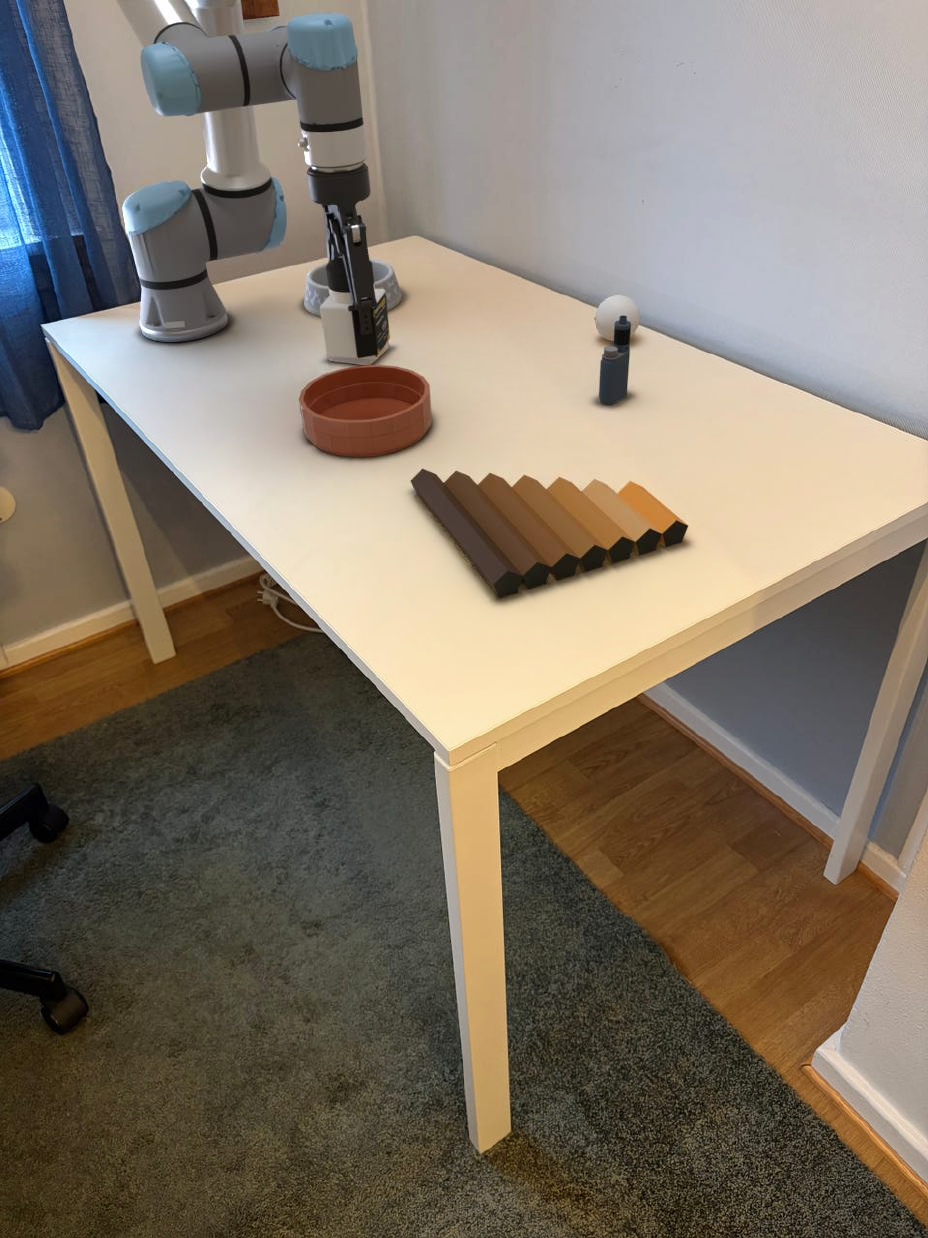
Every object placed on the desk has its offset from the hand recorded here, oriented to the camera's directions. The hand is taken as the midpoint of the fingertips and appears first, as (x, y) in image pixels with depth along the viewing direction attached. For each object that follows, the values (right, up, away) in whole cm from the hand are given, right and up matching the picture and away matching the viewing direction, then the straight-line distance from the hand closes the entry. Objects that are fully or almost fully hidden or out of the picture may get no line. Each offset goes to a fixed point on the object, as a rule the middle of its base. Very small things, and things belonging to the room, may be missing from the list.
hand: (358, 341), depth 130 cm
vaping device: (+37, -5, +12) cm, 39 cm away
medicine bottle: (0, -1, +1) cm, 1 cm away
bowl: (+1, -10, +8) cm, 13 cm away
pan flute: (+24, -25, -13) cm, 37 cm away
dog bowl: (-6, +22, +49) cm, 54 cm away
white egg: (+39, +9, +30) cm, 50 cm away
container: (-3, +6, +29) cm, 30 cm away
